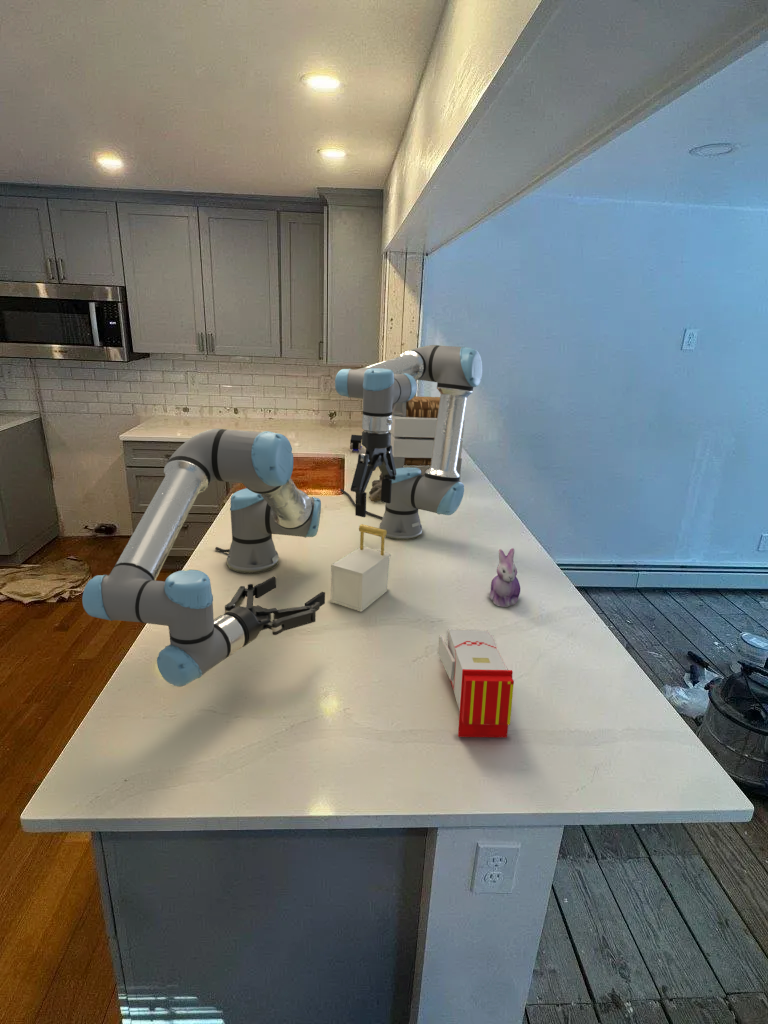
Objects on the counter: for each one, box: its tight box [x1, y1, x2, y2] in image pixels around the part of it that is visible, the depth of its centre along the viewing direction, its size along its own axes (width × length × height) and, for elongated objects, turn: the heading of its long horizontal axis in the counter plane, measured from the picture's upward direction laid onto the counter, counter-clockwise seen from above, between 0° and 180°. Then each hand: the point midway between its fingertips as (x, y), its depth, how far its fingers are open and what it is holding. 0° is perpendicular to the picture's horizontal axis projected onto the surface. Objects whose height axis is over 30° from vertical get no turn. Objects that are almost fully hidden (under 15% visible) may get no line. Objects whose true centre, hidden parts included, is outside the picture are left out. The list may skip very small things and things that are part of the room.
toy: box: [437, 628, 515, 738], centre depth 117 cm, size 12×13×30 cm
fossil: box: [368, 472, 385, 503], centre depth 238 cm, size 22×10×15 cm
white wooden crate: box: [389, 395, 465, 482], centre depth 268 cm, size 34×33×41 cm
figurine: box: [489, 547, 521, 608], centre depth 154 cm, size 9×10×15 cm
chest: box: [330, 557, 390, 613], centre depth 154 cm, size 14×10×10 cm, turn 151°
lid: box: [330, 523, 392, 576], centre depth 151 cm, size 15×10×8 cm, turn 151°
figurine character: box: [349, 434, 363, 453], centre depth 311 cm, size 7×8×15 cm
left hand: (298, 589), depth 128 cm, fingers open, 13 cm apart
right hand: (373, 509), depth 153 cm, fingers open, 13 cm apart
